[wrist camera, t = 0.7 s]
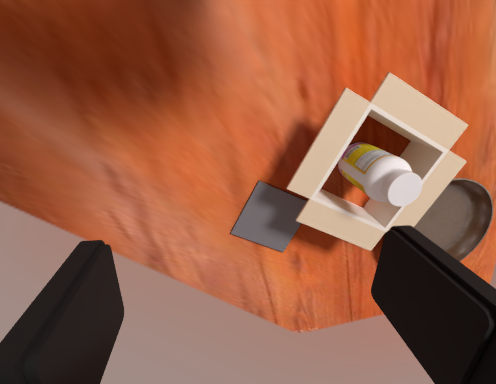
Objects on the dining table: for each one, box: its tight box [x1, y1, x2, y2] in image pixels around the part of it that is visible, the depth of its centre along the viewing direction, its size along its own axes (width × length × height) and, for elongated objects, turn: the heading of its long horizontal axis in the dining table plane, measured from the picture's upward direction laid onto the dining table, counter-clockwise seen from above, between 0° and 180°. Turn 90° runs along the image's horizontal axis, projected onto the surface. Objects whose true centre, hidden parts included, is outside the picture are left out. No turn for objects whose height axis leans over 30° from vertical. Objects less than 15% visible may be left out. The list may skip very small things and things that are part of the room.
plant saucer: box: [414, 178, 493, 262], centre depth 52 cm, size 21×21×3 cm
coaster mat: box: [231, 181, 307, 252], centre depth 48 cm, size 11×11×1 cm
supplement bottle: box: [338, 142, 422, 207], centre depth 40 cm, size 7×7×13 cm
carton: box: [286, 72, 468, 251], centre depth 42 cm, size 23×23×7 cm
